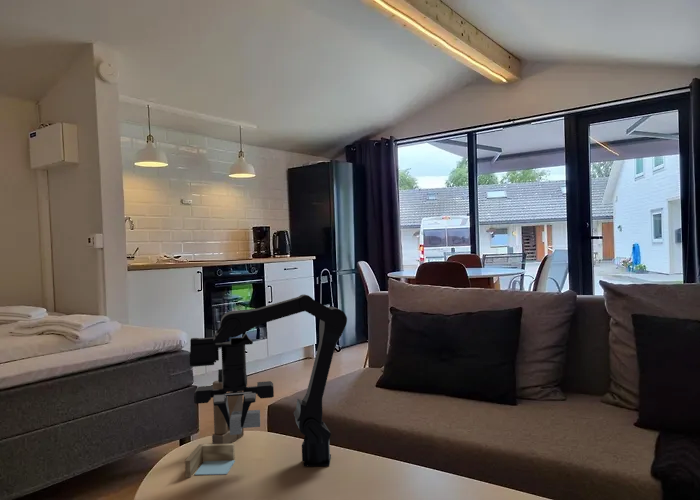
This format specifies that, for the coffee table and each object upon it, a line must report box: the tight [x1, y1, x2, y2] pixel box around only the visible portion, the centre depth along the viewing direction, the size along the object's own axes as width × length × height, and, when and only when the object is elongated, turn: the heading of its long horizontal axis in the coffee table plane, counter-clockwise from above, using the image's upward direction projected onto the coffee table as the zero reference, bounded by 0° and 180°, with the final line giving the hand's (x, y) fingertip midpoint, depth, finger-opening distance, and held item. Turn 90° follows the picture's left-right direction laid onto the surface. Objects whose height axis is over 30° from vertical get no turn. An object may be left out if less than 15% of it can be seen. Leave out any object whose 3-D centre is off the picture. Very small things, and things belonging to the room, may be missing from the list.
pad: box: [193, 459, 236, 476], centre depth 129 cm, size 8×8×1 cm
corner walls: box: [184, 442, 236, 478], centre depth 130 cm, size 9×11×4 cm
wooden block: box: [211, 380, 245, 444], centre depth 148 cm, size 4×11×18 cm, turn 160°
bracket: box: [230, 409, 261, 435], centre depth 128 cm, size 7×7×4 cm
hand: (236, 427), depth 126 cm, fingers closed on bracket, 3 cm apart
